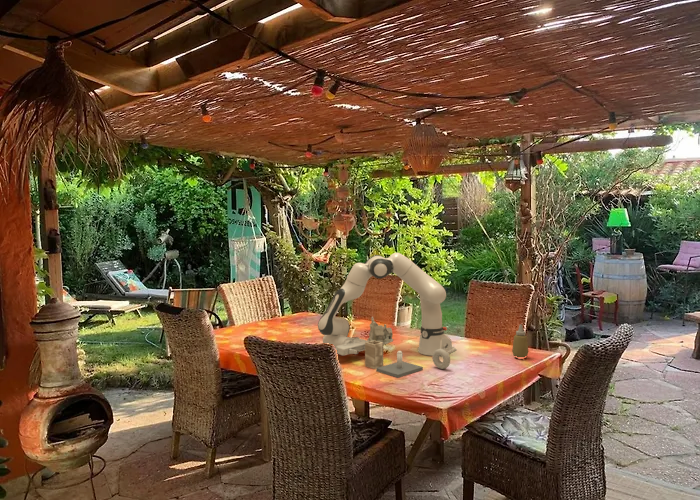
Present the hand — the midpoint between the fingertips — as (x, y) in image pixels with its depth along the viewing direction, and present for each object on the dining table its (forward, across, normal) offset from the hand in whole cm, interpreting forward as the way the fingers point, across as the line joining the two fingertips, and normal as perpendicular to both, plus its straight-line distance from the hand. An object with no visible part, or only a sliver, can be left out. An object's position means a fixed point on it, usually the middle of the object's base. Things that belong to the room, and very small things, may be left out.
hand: (364, 350), depth 262 cm
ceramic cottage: (-25, +38, +7) cm, 46 cm away
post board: (+21, +4, +6) cm, 22 cm away
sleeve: (+7, 0, +6) cm, 10 cm away
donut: (+33, +21, +7) cm, 40 cm away
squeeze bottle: (+50, +66, +7) cm, 83 cm away
